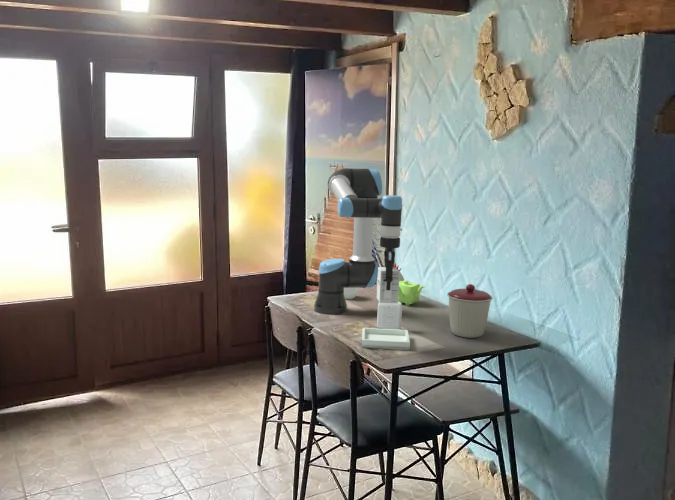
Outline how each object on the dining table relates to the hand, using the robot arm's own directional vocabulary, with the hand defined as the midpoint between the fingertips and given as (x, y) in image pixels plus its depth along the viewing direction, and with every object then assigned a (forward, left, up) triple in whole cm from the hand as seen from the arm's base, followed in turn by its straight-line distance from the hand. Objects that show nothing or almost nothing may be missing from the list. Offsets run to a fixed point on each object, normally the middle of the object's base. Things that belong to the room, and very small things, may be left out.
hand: (387, 295), depth 241 cm
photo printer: (+2, +19, -19) cm, 27 cm away
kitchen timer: (+6, +89, -19) cm, 91 cm away
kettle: (+11, +63, -19) cm, 67 cm away
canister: (+34, +16, -19) cm, 42 cm away
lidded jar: (-17, +69, -19) cm, 74 cm away
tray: (0, 0, -19) cm, 19 cm away
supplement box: (0, 0, -2) cm, 2 cm away
